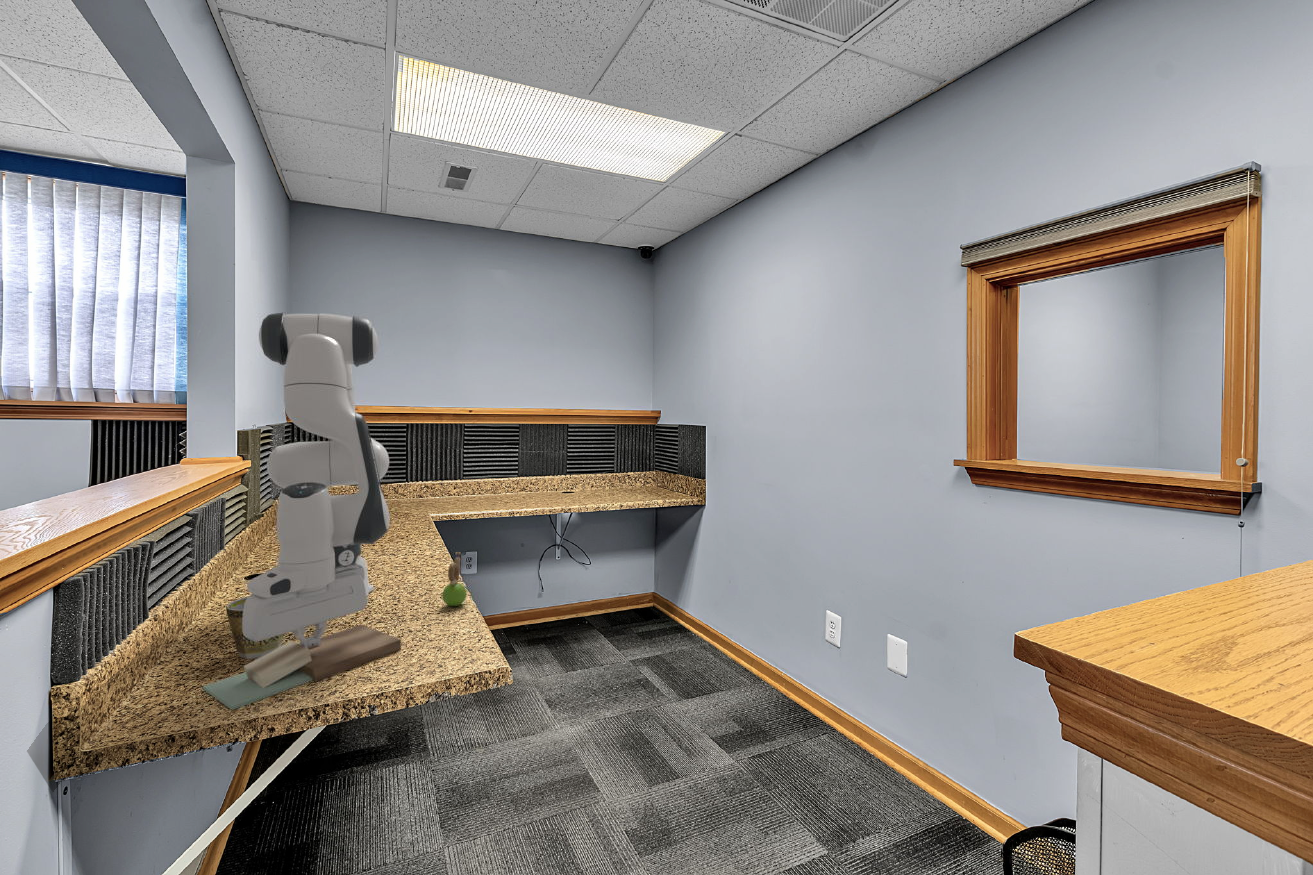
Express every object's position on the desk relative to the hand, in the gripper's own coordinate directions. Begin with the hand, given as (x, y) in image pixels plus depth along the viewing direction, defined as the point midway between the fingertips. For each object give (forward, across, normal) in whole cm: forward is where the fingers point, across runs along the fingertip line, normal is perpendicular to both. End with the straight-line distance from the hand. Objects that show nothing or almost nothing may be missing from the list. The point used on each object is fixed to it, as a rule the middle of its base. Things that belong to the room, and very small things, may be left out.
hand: (310, 648), depth 107 cm
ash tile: (+2, +5, 0) cm, 6 cm away
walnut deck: (+3, -6, 0) cm, 6 cm away
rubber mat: (+3, +8, 0) cm, 9 cm away
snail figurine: (+4, -36, -6) cm, 36 cm away
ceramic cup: (+4, +2, -16) cm, 17 cm away
